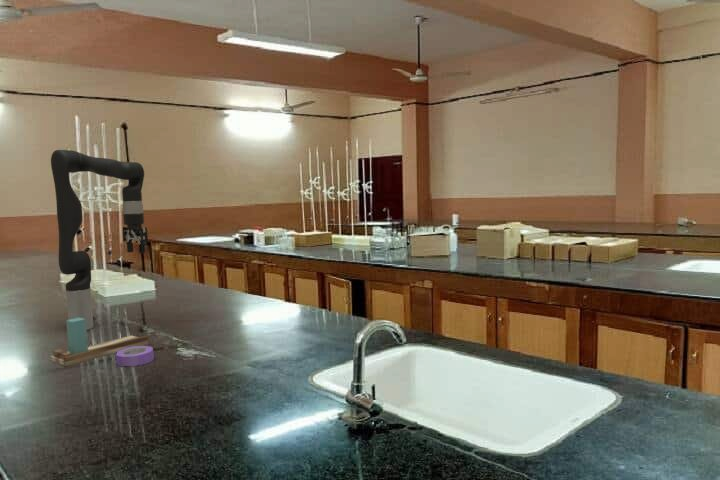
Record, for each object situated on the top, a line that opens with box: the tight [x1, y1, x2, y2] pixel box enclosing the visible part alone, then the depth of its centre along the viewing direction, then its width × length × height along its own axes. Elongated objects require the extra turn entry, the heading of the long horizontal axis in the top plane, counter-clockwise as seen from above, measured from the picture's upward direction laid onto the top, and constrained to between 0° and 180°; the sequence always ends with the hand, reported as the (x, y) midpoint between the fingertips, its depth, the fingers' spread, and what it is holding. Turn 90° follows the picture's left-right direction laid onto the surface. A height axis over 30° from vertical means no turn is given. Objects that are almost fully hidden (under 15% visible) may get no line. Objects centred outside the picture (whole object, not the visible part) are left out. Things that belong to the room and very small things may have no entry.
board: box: [49, 335, 149, 367], centre depth 195 cm, size 12×30×4 cm, turn 143°
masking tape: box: [115, 345, 155, 367], centre depth 184 cm, size 12×12×4 cm
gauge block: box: [65, 318, 89, 355], centre depth 188 cm, size 4×4×12 cm
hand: (136, 252), depth 216 cm, fingers open, 8 cm apart
